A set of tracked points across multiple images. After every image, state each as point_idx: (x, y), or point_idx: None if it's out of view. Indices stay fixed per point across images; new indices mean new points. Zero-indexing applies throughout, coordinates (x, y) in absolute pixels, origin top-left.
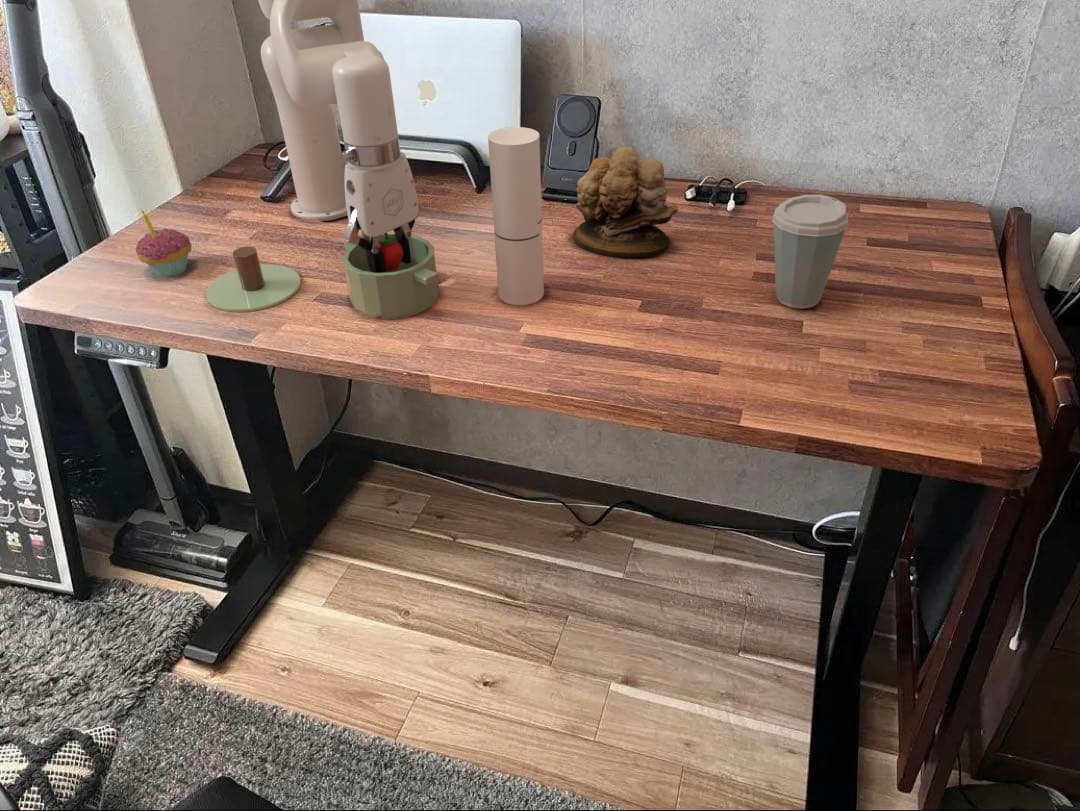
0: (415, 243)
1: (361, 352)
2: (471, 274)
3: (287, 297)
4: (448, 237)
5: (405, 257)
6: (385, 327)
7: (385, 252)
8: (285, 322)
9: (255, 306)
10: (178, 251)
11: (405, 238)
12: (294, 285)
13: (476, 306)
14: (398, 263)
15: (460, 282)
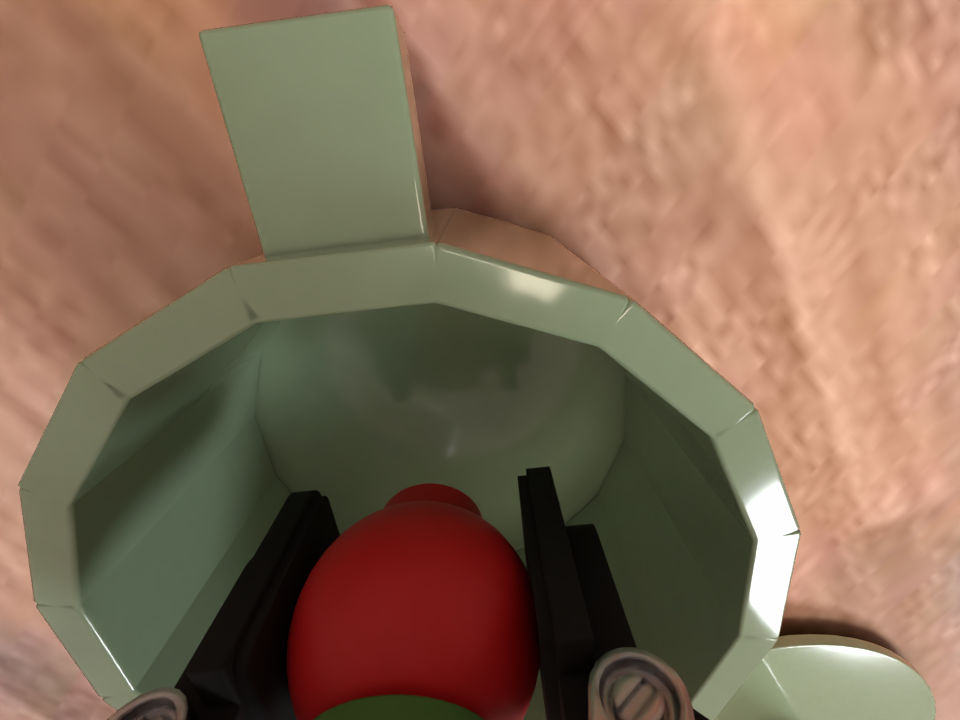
0: (153, 631)
1: (909, 91)
2: (26, 341)
3: None
4: (17, 637)
5: (311, 534)
6: (653, 219)
7: (497, 627)
8: (860, 536)
9: (878, 660)
10: None
11: (199, 702)
12: None
13: (132, 9)
14: (399, 504)
15: (112, 316)
